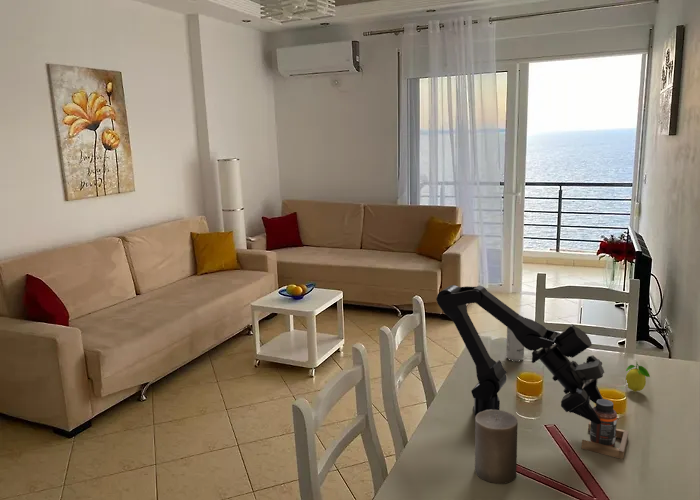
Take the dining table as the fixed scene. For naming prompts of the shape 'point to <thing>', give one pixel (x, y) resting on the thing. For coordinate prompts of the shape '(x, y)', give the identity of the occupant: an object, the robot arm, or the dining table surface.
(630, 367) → the lemon
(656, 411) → the dining table surface
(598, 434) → the supplement bottle
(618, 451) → the bay
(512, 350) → the energy drink can
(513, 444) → the pillar candle
